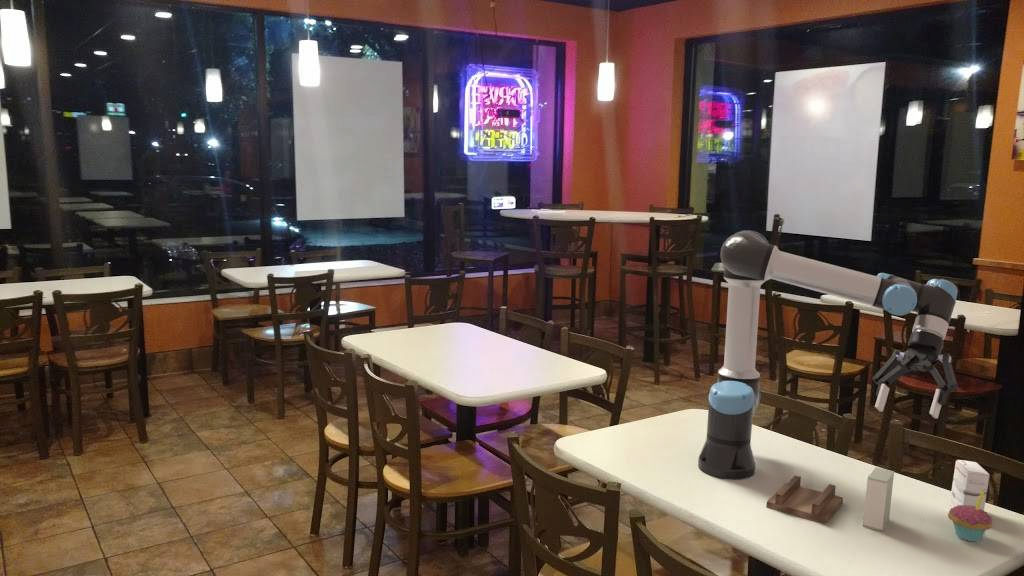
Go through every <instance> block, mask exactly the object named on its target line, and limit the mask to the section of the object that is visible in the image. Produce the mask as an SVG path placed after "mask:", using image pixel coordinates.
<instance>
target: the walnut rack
mask: <svg viewBox="0 0 1024 576" xmlns="http://www.w3.org/2000/svg"><path fill="white" fill-rule="evenodd" d="M801 480H802V477H801V476H800V475H799V476H798V475H794V476H792V478H790V480H788V481H787V482H785V483H784V484H783V485H782V486H781V487H780V488H779V489H778V490H777V491H776V492H775V493H774V494H773V495H772V496H771V497H770V498H769V499H767V501H766V508H768V509H772V510H776V511H778V512H783V513H786V514H790V515H793V516H797V517H801V518H803V519H808V520H811V521H815V522H818V523H822V524H825V525H826V524H828V522H829V521H830V520H831V519H832V518H833V516H834V515H835V514H836V512H837V511H838V510H839V509H840V508H841V506H842V505H843V503H844V497H843V496H840V495H836V489H837V485H834V484H831V483H830V484H828V485H827V486H826V488H824V490H823V491H821V490H817V489H812V488H808V487H804V486H801Z"/></svg>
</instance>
